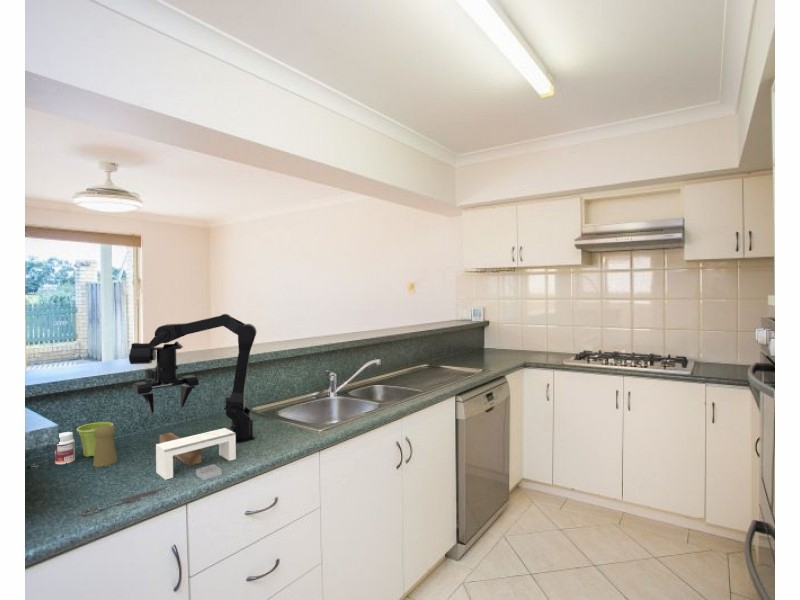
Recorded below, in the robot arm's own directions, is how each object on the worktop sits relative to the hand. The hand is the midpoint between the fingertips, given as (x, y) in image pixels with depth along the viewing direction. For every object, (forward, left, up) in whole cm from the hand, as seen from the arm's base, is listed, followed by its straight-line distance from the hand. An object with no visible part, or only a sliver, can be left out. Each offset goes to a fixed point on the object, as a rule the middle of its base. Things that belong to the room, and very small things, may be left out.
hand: (167, 410), depth 146 cm
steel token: (+1, +33, -12) cm, 35 cm away
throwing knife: (+20, +33, -12) cm, 41 cm away
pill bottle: (+26, -8, -12) cm, 30 cm away
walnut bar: (0, +10, -12) cm, 16 cm away
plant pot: (+18, -9, -12) cm, 24 cm away
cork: (+18, +2, -12) cm, 22 cm away
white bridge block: (0, +24, -12) cm, 27 cm away
